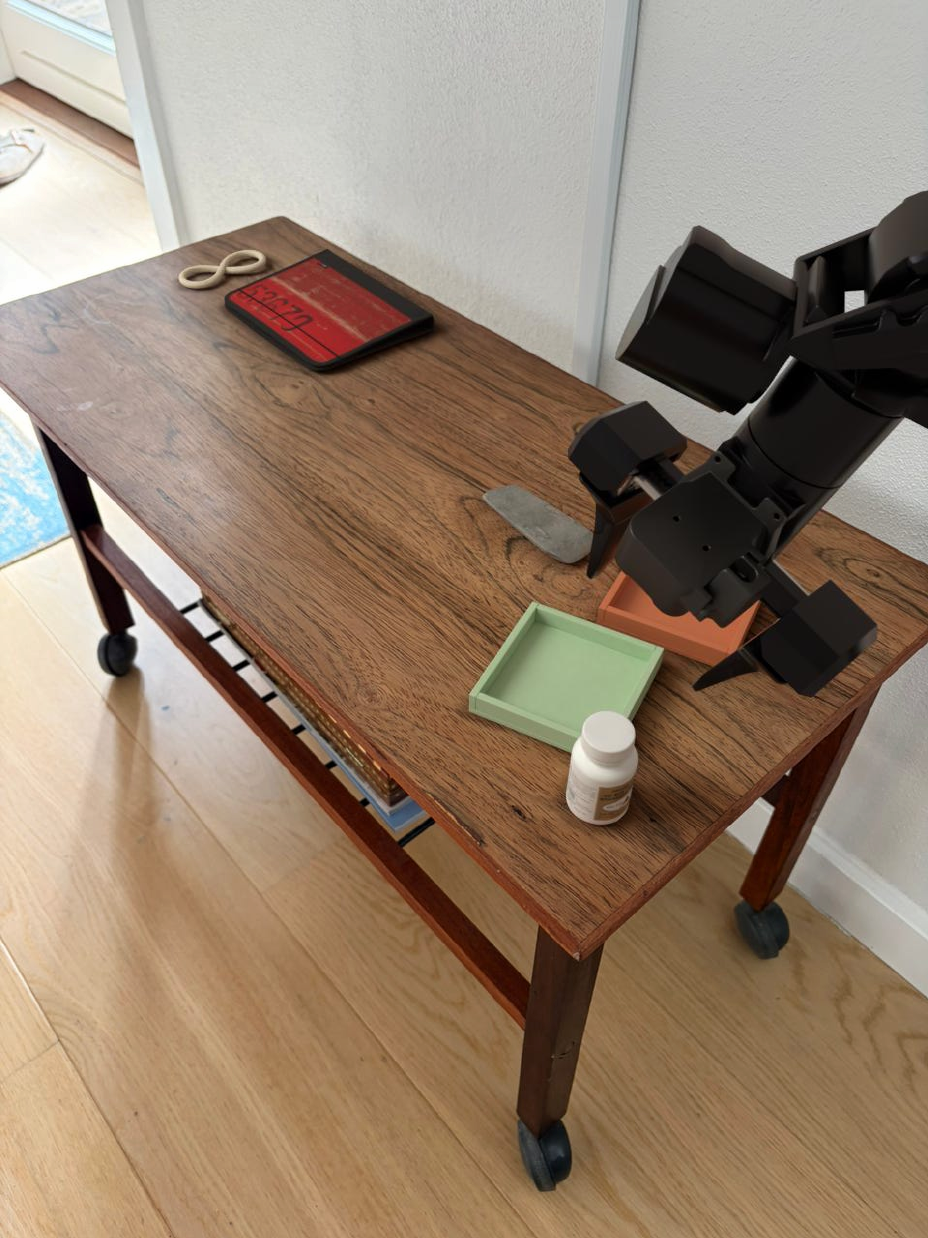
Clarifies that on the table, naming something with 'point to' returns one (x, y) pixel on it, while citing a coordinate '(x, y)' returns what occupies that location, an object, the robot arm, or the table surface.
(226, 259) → the decorative object
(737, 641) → the terracotta tray
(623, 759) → the pill bottle
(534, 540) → the stone
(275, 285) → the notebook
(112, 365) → the table surface
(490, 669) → the sage tray
